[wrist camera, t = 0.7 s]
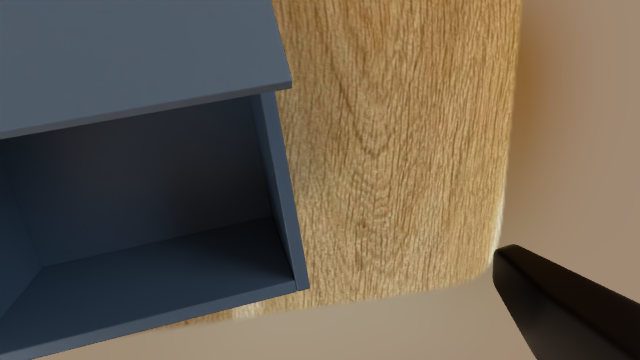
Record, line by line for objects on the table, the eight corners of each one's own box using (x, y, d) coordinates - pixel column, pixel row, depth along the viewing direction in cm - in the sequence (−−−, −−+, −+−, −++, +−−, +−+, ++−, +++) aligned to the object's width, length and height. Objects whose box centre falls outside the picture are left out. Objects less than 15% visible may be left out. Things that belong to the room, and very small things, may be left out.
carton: (-74, -16, 18) (-267, -65, 11) (230, -52, 20) (238, -113, 13) (38, 274, 21) (-49, 381, 14) (282, 219, 23) (310, 288, 16)
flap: (-282, -62, 10) (-300, -75, 10) (238, -112, 12) (237, -124, 12) (-333, 199, 8) (-358, 193, 8) (292, 88, 10) (292, 80, 10)
